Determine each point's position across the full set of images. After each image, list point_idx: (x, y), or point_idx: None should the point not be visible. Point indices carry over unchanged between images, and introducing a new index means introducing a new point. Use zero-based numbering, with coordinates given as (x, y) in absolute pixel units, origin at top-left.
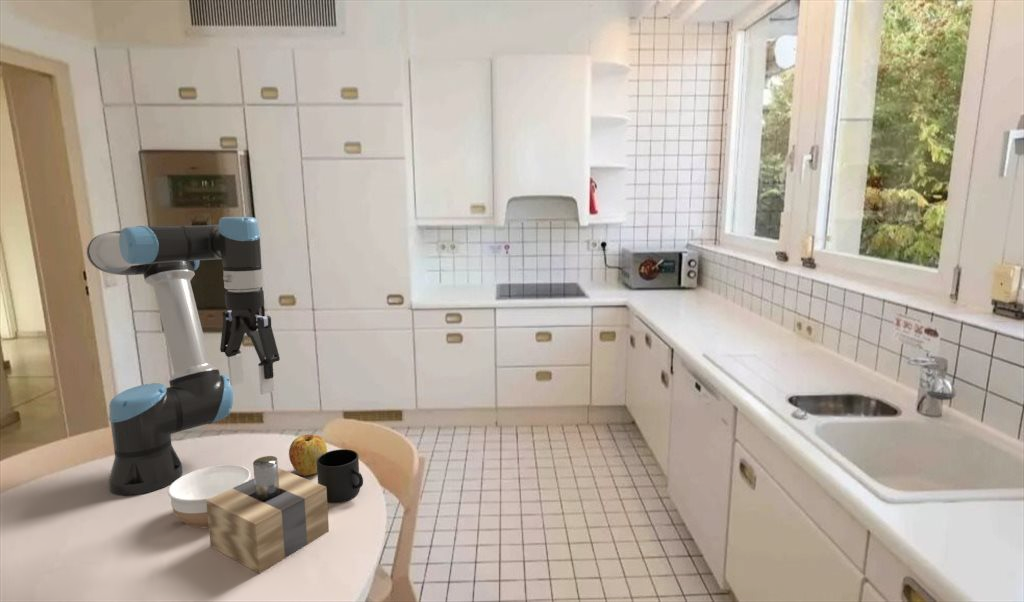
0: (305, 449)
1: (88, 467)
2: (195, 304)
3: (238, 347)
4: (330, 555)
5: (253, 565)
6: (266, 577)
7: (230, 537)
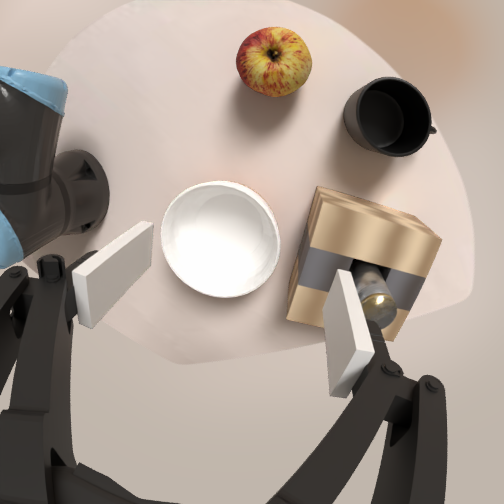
0: (290, 82)
1: None
2: None
3: (62, 315)
4: (436, 258)
5: None
6: None
7: None
